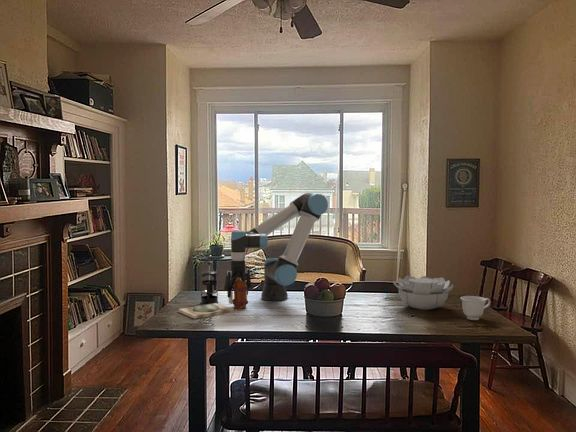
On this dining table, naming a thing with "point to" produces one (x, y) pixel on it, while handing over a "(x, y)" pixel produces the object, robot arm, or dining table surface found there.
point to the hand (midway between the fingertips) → (237, 302)
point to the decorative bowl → (423, 291)
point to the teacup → (474, 306)
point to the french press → (209, 287)
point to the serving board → (205, 310)
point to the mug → (240, 294)
